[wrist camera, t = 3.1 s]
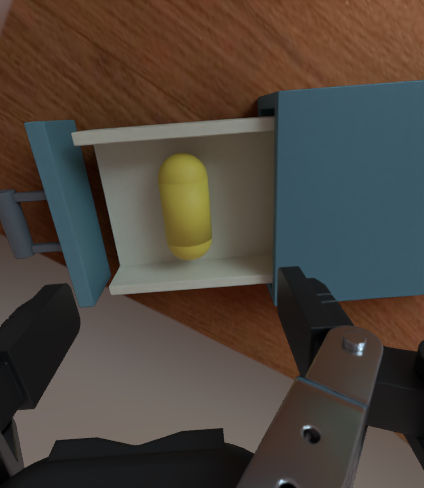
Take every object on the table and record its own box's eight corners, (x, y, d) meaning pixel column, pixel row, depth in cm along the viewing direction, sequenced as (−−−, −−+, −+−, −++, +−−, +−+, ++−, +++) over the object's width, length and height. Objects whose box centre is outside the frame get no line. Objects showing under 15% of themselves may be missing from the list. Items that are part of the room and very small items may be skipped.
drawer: (52, 280, 28) (23, 312, 23) (1, 125, 22) (-49, 128, 18) (296, 261, 28) (314, 289, 23) (304, 102, 22) (329, 99, 18)
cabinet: (258, 265, 29) (274, 306, 23) (257, 97, 23) (278, 91, 17) (460, 250, 29) (530, 286, 23) (511, 78, 23) (624, 64, 17)
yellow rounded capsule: (212, 247, 26) (214, 266, 22) (171, 250, 26) (167, 270, 22) (205, 148, 22) (206, 154, 19) (157, 152, 22) (150, 158, 19)
